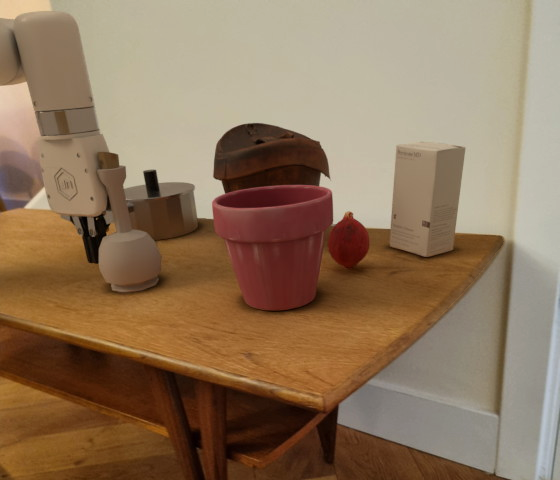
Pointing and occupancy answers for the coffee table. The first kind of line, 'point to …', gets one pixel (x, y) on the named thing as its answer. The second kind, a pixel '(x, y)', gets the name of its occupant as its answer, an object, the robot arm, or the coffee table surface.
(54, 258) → the coffee table surface
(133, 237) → the potion bottle
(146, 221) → the pan
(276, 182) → the chocolate muffin
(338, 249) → the onion
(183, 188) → the pan lid
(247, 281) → the flower pot
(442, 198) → the cosmetic box
